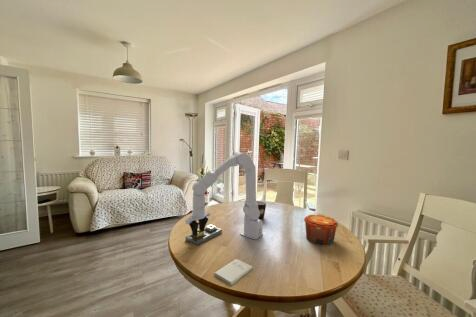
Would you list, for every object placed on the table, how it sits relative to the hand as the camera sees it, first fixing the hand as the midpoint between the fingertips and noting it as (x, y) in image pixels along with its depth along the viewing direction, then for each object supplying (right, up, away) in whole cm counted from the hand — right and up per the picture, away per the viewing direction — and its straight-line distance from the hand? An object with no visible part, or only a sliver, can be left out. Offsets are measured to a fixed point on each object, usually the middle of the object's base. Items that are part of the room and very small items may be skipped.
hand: (198, 233), depth 101 cm
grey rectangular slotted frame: (+2, -3, +4) cm, 5 cm away
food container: (+61, -5, +4) cm, 62 cm away
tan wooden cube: (0, -3, 0) cm, 3 cm away
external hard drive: (+18, -6, -24) cm, 31 cm away
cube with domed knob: (+5, -3, +8) cm, 10 cm away
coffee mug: (+32, -2, +33) cm, 46 cm away
